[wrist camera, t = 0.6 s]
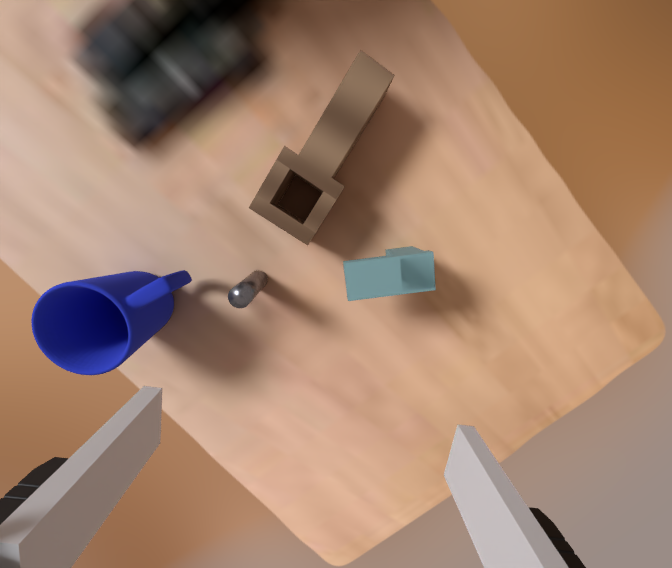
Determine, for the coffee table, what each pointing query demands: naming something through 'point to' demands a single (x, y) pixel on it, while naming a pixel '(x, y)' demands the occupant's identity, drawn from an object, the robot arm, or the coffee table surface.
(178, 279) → the mug
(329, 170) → the link
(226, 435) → the coffee table surface
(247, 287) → the rod
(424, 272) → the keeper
